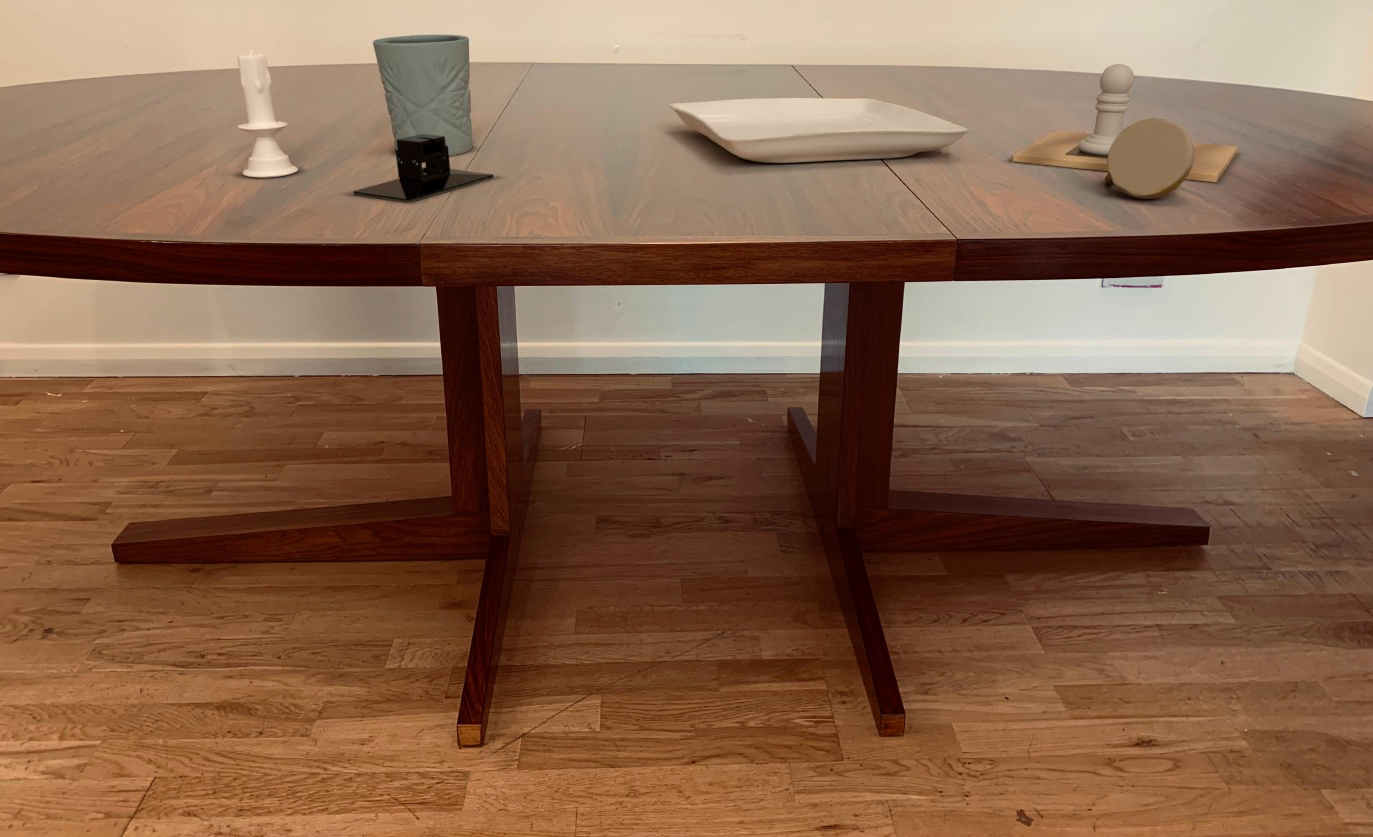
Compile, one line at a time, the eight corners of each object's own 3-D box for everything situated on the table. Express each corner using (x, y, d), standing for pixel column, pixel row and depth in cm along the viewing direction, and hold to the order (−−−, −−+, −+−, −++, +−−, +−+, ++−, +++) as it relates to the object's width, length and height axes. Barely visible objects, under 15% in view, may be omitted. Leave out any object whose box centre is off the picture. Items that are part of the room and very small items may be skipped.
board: (1236, 153, 113) (1238, 145, 113) (1216, 182, 99) (1218, 173, 99) (1053, 137, 123) (1055, 129, 122) (1012, 161, 109) (1013, 153, 109)
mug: (1196, 187, 98) (1231, 102, 90) (1151, 248, 94) (1183, 165, 86) (1123, 159, 101) (1150, 75, 93) (1076, 216, 98) (1100, 134, 89)
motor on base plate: (409, 204, 92) (402, 152, 90) (350, 195, 95) (342, 145, 93) (494, 177, 102) (490, 130, 100) (438, 170, 105) (433, 124, 103)
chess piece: (1137, 151, 109) (1153, 63, 106) (1118, 158, 106) (1135, 68, 102) (1088, 145, 113) (1102, 60, 109) (1069, 152, 109) (1083, 64, 105)
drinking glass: (496, 149, 116) (487, 37, 111) (423, 162, 109) (410, 43, 104) (441, 139, 122) (430, 32, 117) (368, 151, 115) (353, 38, 110)
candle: (300, 166, 107) (281, 45, 102) (295, 176, 102) (275, 50, 97) (246, 168, 106) (224, 47, 101) (239, 179, 101) (215, 52, 96)
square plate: (970, 162, 109) (974, 125, 107) (725, 174, 103) (725, 135, 101) (869, 123, 133) (872, 92, 131) (666, 131, 127) (666, 98, 125)
